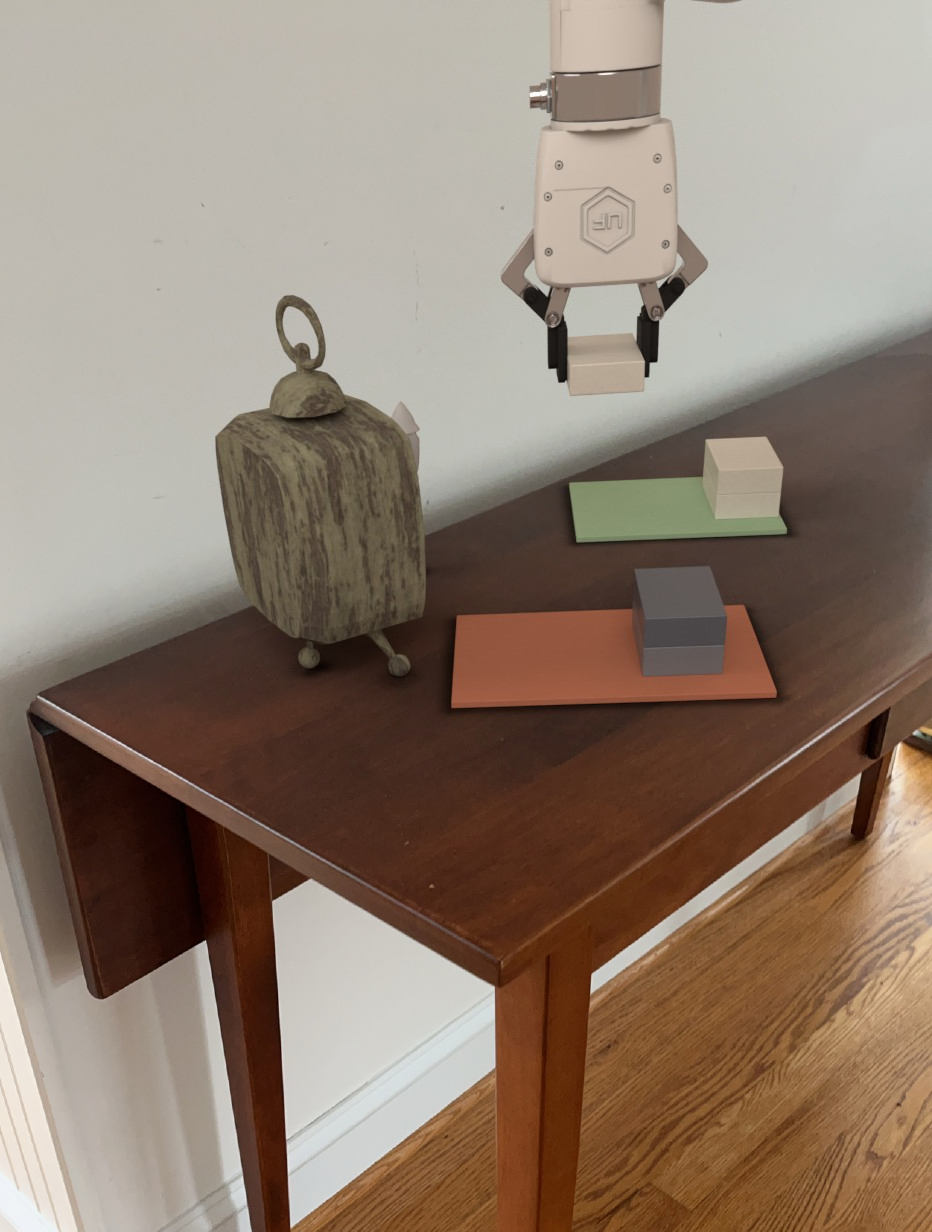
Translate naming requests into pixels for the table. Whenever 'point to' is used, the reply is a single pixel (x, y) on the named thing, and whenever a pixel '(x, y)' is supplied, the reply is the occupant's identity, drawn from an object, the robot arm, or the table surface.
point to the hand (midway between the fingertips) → (602, 372)
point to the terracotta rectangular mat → (588, 662)
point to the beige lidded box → (742, 478)
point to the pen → (408, 428)
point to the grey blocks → (678, 621)
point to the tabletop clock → (323, 509)
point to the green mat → (655, 512)
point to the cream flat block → (604, 365)
